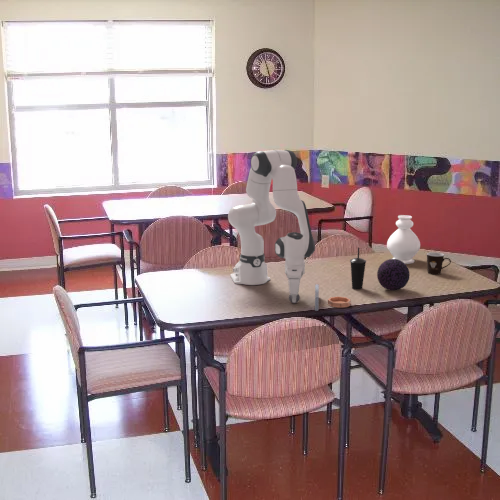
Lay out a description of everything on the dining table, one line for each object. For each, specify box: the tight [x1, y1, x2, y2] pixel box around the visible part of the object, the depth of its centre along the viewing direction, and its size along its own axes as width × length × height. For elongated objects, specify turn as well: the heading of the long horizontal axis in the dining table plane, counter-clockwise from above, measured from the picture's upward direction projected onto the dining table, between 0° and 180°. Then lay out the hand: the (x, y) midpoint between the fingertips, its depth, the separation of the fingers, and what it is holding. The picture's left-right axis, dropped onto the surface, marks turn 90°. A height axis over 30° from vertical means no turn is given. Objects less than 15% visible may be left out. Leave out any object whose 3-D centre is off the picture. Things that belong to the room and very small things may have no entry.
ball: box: [288, 293, 301, 304], centre depth 314 cm, size 5×5×5 cm
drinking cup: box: [349, 247, 367, 291], centre depth 335 cm, size 8×8×20 cm
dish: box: [327, 295, 352, 309], centre depth 313 cm, size 10×10×2 cm
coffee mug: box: [426, 251, 452, 276], centre depth 361 cm, size 12×9×10 cm
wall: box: [314, 283, 320, 312], centre depth 313 cm, size 20×2×6 cm, turn 175°
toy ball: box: [376, 258, 411, 292], centre depth 332 cm, size 15×15×15 cm
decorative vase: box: [386, 214, 421, 265], centre depth 385 cm, size 18×18×25 cm
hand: (294, 299), depth 314 cm, fingers open, 6 cm apart
